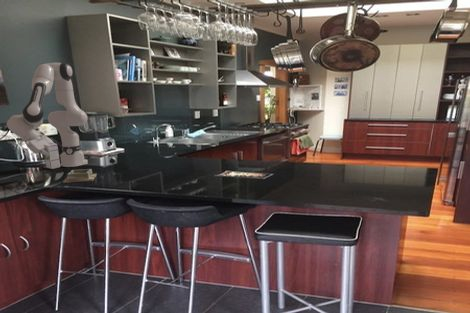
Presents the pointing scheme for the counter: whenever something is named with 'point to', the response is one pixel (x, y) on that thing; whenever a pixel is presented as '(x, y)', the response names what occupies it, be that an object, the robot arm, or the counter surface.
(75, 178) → the cradle jig
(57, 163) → the syrup box
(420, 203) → the counter surface
